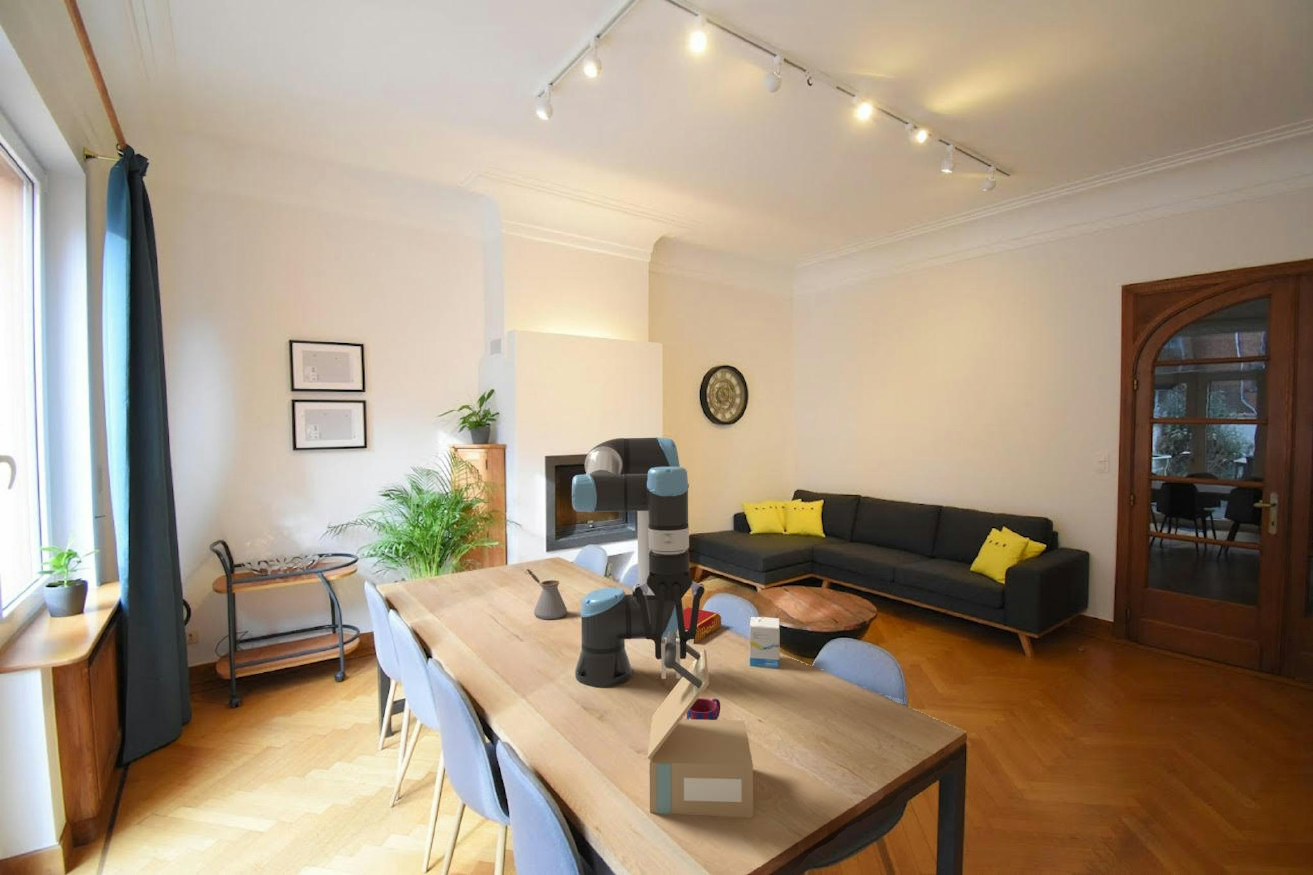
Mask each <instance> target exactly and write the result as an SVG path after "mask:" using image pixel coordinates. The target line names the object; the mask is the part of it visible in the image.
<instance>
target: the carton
mask: <svg viewBox="0 0 1313 875" xmlns="http://www.w3.org/2000/svg"><path fill="white" fill-rule="evenodd" d="M750 748H751V747H750V743H749V737H748V732H747V726H746V722H745V720H740V719H739V720H737V719H736V720H733V719H717V720H695V719H687V718H685V719H684V718H682V720H681V721H680V722H679V723H678V725H677V726H676V727H675V729H674V730H673V731H672V732H671V734H670V735H669V736H668V738H667V739H666V740H665V742H664V743H663V744H662V745H661V747H660V748H659V749H658V751H657V752H656V753H655V754H654V756H653V757H652V758H651V760H650V759H649V813H654V814H659V815H672V814H673V815H674V814H675V815H689V816H690V815H693V816H710V817H712V816H713V817H728V818H750V819H752V818H754V763H753V759H752V753H751V749H750Z"/></svg>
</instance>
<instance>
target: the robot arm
mask: <svg viewBox="0 0 1313 875" xmlns="http://www.w3.org/2000/svg"><path fill="white" fill-rule="evenodd" d="M584 470H585V472H586V473H584V474H576V475H574V476H573V478H572V481H571V483H572V484H571V504H572V508H573V511H576V512H581V513H589V514H592V513H604V512H606V513H607V512H637V582H636V583H635V584H634V585H633V587H632V590H631V591H632V593H631V594H629V593H628V594H626V592H625V590H624V589H623V588H621V587H604V588H599V589H596V590H592V591H590V592H589V593H587V594H586V595H585V596H584V597H582V600H581V609H580V616H581V651H580V653H579V658H578V661H577V664H576V667H575V672H574V674H575V675H574V677H575V679H576V681H577V682H579V683H580V684H582V685H584V686H588V687H593V688H611V687H616V686H620V685H623V684H624V683H626V682H628V681H630V679H631V678H632V666H631V663H630V659H629V657H628V654H627V650H626V648H625V647H626V645H625V644H626V642H625V640H651V641H653V642H654V654H655V655H654V656H655V659H656V660H660V661H661V680H662V679H663V680H665V679H666V678H667V668H666V667H665V665H664V660H665V649H666V638H667V633H668V632H669V631H674V632H676V633H677V631H679V638H676V662H677V663H678V664H680V665H681V660H686V658H687V652H686V644H687V643H688V642H687V641H688V640H690V639H695V637H696V630H697V622H698V614H699V610H700V603H701V599H702V597H703V595H704V594H705V591H706V589H705V585H704V584H703V583H697V582H695V580H693V578H692V575H691V574H690V573H691V572H690V552H689V550H688V549H689V548H690V529H689V528H690V526H689V487H690V483H689V482H688V481H689V479H688V478H689V477H688V471H687V469H686V468H684V467H682V466H680V460H679V453H678V449H677V445H676V442H675V441H674V440H673V439H671V438H668V437H628V438H624V437H619V438H612V439H609V440H605V441H603V442H601V443H599V444H597V445H595V446H594V447H592V449H590V450H589V451H588V453H587V454H586V457H585V459H584ZM690 588H691V594H692V595H693V596H692V597H693V598H692V605H691V608H692V611H691V619H690V628H689V630H688V631H685V623H684V615H683V610H684V607H683V598H684V597H685V595H686V594H687V593H688V590H690ZM675 672H676V671H675ZM675 676H676V679H679V680H680V679H681V678H682V675H680V674H679V673H678V672H676V674H675Z"/></svg>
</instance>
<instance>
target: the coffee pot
mask: <svg viewBox="0 0 1313 875" xmlns="http://www.w3.org/2000/svg"><path fill="white" fill-rule="evenodd" d="M526 572H527V573H526ZM524 574H526V575H531V578H532V579H533V580H534V581H535V583H537V584H539V586H540V587H541V588H542V590H541V592H540V595H539V597H538V600H537V602H536V605H535V608H534V610H533V614H534V616H535V617H536V618H538V619H540V620H547V621H548V620H549V621H550V620H557V619H561V618H563V617H564V616H565V615H567V610H568V609H567V606H566V604H565V601H564V600H563V597H562V595H561V593H560V591H559V589H558V587H559V585H560V581H559V580H554V579H553V580H545V581H542V582H541V581H540V579H539V578H538V577H537V576H536V575H535V574H534V573H533V571H531V569H529V568H527V569H526V570H525V571H524Z"/></svg>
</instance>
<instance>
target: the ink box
mask: <svg viewBox="0 0 1313 875" xmlns="http://www.w3.org/2000/svg"><path fill="white" fill-rule="evenodd" d="M780 630H781V629H780V618H779V617H777V618H776V617H766V616H758V617H756V616H751V617H750V623H749V666H750V667H755V668H765V669H766V668H769V669H780V657H781V656H780V648H781V647H780V646H781V645H780V642H781V641H780V640H781V639H780V637H781V636H780Z"/></svg>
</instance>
